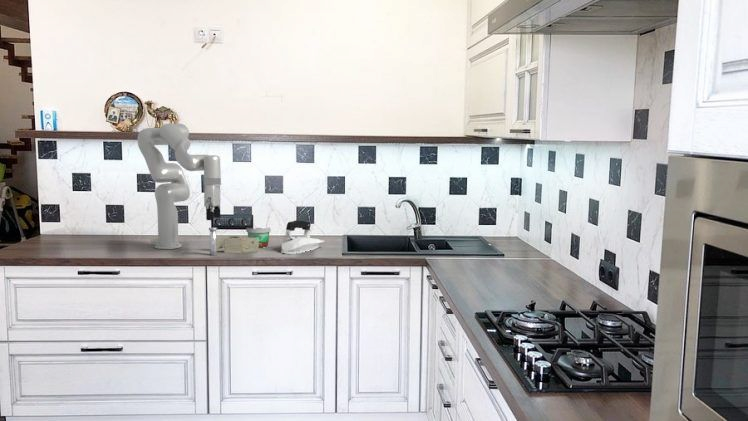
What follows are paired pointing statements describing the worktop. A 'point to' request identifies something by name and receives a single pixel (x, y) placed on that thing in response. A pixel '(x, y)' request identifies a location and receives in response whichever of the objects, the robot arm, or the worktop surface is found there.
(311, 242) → the iron
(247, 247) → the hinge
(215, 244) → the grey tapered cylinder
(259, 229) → the food container
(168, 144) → the robot arm
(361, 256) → the worktop surface
